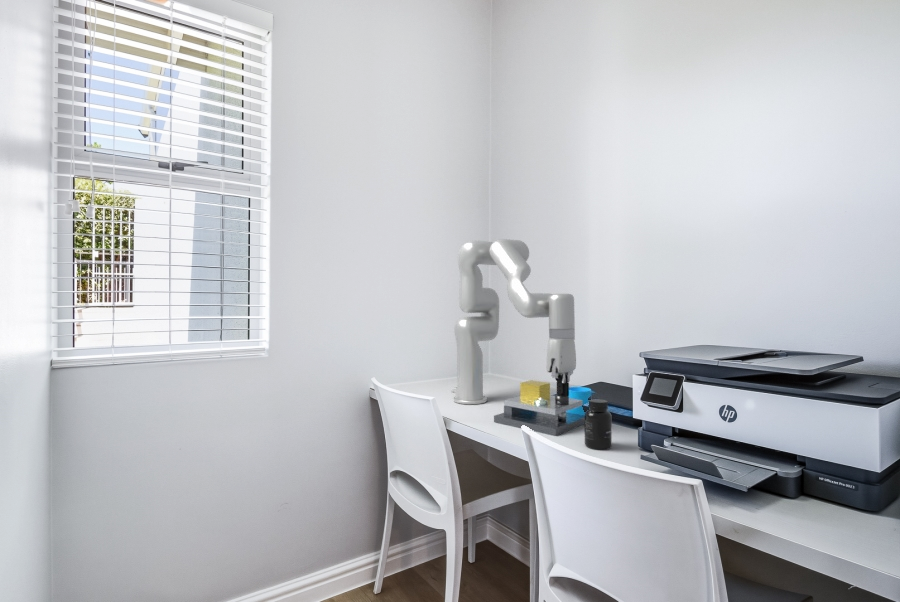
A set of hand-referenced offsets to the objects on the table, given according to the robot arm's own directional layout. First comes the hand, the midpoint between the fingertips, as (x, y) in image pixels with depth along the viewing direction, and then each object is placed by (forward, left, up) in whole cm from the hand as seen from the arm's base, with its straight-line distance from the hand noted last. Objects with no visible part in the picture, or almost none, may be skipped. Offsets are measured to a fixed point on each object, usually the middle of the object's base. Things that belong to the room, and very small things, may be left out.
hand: (562, 395), depth 145 cm
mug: (-4, +20, -10) cm, 23 cm away
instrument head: (-7, 0, -4) cm, 8 cm away
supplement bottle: (+16, -10, -10) cm, 21 cm away
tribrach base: (-8, 0, -10) cm, 12 cm away
